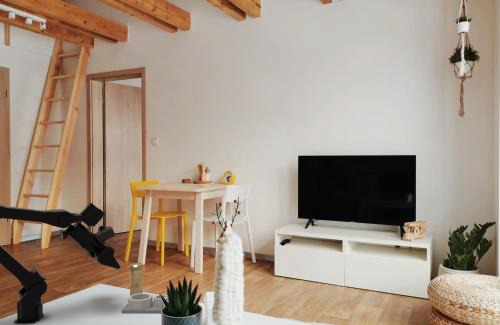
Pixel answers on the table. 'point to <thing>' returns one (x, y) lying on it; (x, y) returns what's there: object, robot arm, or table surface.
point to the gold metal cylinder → (136, 278)
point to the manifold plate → (144, 303)
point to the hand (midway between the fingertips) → (115, 265)
